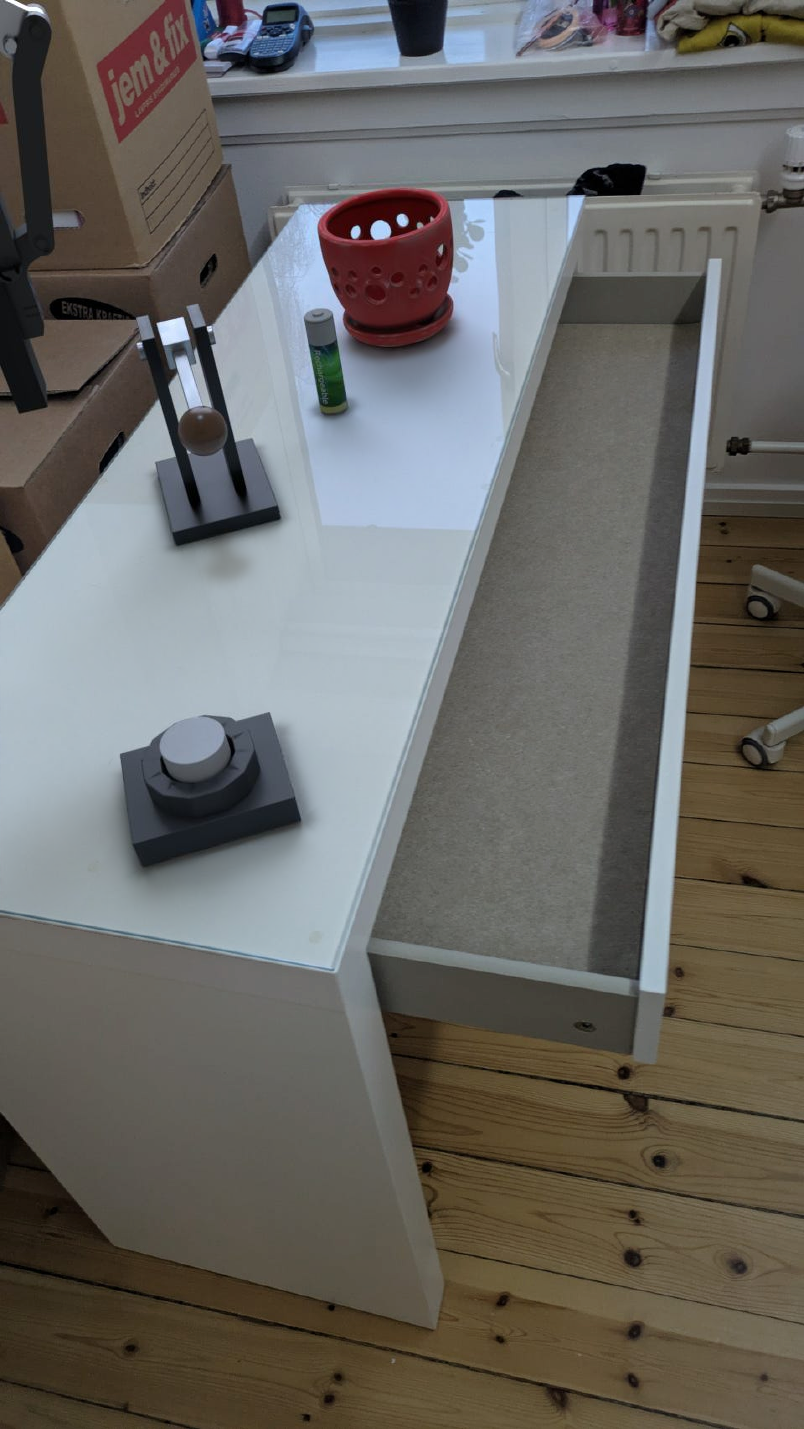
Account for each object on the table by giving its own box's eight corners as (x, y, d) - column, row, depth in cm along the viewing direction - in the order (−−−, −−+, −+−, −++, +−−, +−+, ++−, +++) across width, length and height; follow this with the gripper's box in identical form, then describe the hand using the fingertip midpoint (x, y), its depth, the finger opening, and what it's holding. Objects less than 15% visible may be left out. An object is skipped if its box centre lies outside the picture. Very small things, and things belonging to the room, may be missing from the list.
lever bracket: (281, 518, 92) (240, 340, 81) (176, 545, 90) (120, 368, 79) (255, 450, 100) (215, 279, 89) (158, 474, 99) (106, 304, 88)
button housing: (142, 867, 66) (123, 825, 64) (129, 776, 72) (111, 734, 69) (301, 820, 68) (289, 777, 65) (276, 734, 73) (264, 691, 70)
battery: (315, 407, 104) (297, 312, 98) (339, 398, 105) (323, 302, 99) (328, 418, 103) (311, 322, 96) (353, 408, 103) (338, 312, 97)
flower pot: (351, 302, 120) (334, 188, 112) (469, 300, 117) (460, 183, 109) (321, 359, 111) (300, 240, 103) (447, 358, 108) (437, 235, 100)
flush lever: (236, 459, 81) (227, 423, 78) (188, 471, 81) (178, 436, 78) (199, 345, 88) (190, 308, 85) (155, 355, 88) (145, 318, 84)
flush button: (171, 791, 66) (163, 771, 64) (163, 746, 68) (155, 727, 67) (236, 772, 66) (229, 752, 65) (225, 729, 69) (218, 709, 68)
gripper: (-11, -212, 44) (148, 341, 61) (-345, -157, 43) (-90, 395, 59) (-12, -200, 39) (163, 402, 55) (-394, -137, 37) (-98, 463, 54)
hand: (32, 398), depth 57 cm, fingers closed
